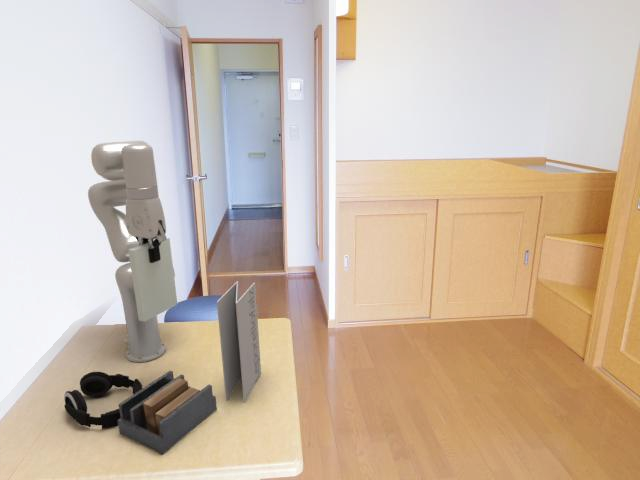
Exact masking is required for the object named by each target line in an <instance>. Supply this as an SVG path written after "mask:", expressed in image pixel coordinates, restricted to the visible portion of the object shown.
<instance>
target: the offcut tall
mask: <svg viewBox="0 0 640 480" xmlns="http://www.w3.org/2000/svg"><path fill="white" fill-rule="evenodd" d="M188 386H189V383H188V380H185V379H184V380H183V379H180V378H179V379H177V380H176V381H175V382H173V383H172V384H170V385H169V386H167V387H166V388H164V389H163V390H162V391H160V392H159V393H157V394H156V395H154V396H153V397H151V398H150V399H149V400H147V401H146V402H144V403H143V405H144V411H145V418H146V424H147V430H148V431H150V432H152V433H154V434H156V435H158V436H159V434H158V427H157V421H156V414H155V413H157V412H158V411H159V410H161V409H162V408H163V407H165V406H166V405H168V404H169V403H170V402H172V401H173V400H174V399H176V398H177V397H178V396H180V395H181V394H182V393H184V392H185V391H187V390H188V389H189V388H188Z"/></svg>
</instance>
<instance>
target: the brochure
mask: <svg viewBox="0 0 640 480" xmlns="http://www.w3.org/2000/svg"><path fill="white" fill-rule="evenodd" d="M256 289H257V288H256V282H253V283H252V284H251V285H250V286H249V287H248V288H247V290H246V291H245V292H244V293H243V294H242V295H241V297H240V292H239V281H238V280H236V282H235V283H234V284H233V285H232V286H231V287H230V288H229V289H228V290H227V291H226V292H225V293H224V294H223V295H222V296H221V297H220V298H219V299H218V300H217V301H216V308H217V309H216V310H217V319H218V328H219V329H218V330H219V331H218V332H219V343H220V352H221V360H222V361H221V362H222V373H223V382H224V383H223V384H224V393H225V402H227V401H228V400H229V398H230V397H231V395H232V394H233V393H234V390H235V389H236V387H237V385H238V384H239V383H240V381H241V385H242V386H241V387H242V397H243V398H242V399H243V403H244V404H245V403H246V402H247V400H248V398H249V396H250V394H251V393H252V391H253V389H254V388H255V386H256V384H257V382H258V381H259V378H260V377H261V375H262V368H261V367H262V366H261V353H260V352H261V350H260V336H259V335H260V334H259V318H258V306H257V291H256Z"/></svg>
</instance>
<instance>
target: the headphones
mask: <svg viewBox="0 0 640 480" xmlns="http://www.w3.org/2000/svg"><path fill="white" fill-rule="evenodd" d="M79 387H80V390H78V389H73V390H72V391H71V390H67V391H66V392H65V393H64V396H63V397H64V398H63V399H64V411H65V413H67V414H68V415H69V416H70V417H71V418H72V419H73V420H74V421H75V422H76V423H77V424H78V425H79V426H83V427H84V426H85V427H88V428H91V426H101V429H102V430H106V429H112V428H116V427H118V421H117V420H119V419H120V418H121V416H120V411H119V408H117V409H114V410H111V411H107V412H105V413H100V416H91V413H88V405H87V401H86V398H85V397H84V396H83V395H85V396H87V397H90V398H101V397H103V396H105V395H106V394H108V392H109V391H110V390H111V389H112V387H115V388H125V389H129V388H132V395H134V394H135V393H137V392H138V391H140V390H141V389H143V388H144V387H143V385H142V382H141V381H140V380H139V379H138V378H134V380H133V379H130V376H129V375H123V374H120V373H116V374H108V373H106V372H102V371H92V372H88V373H86V374H85V375H83V376H82V377H81V379H80V381H79ZM80 391H81V392H80ZM82 393H83V394H82Z"/></svg>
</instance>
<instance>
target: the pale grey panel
mask: <svg viewBox="0 0 640 480" xmlns="http://www.w3.org/2000/svg"><path fill="white" fill-rule="evenodd" d="M166 238H167V240H165V241H163V242H161V245H160V246H159V250H160V258H161V259H160V260H159V261H156V262H154V263H150V259H149V252H148V249H149V248H150V247H149V243H146V244H143V245H140V246H137V247H134V248H131V249H129V250H128V251H129V258H130V262H129V263H130V265H131V271H132V278H133V285H134V291H135V298H136V305H137V311H138V318H139V320H140V321H143V322H145V321H147V320H149V319H150V318H152V317H154V316H156V315H157V316H158V315H161V314H162V313H164V312H166V311H168V310H170V309H172V308H173V307H175V306H177V305H178V297H177V289H176V280H175V278H174V273H175V270H174V271H173V268H174V266H173V258H172V249H171V240H170V239H171V238H170V237H166Z"/></svg>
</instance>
